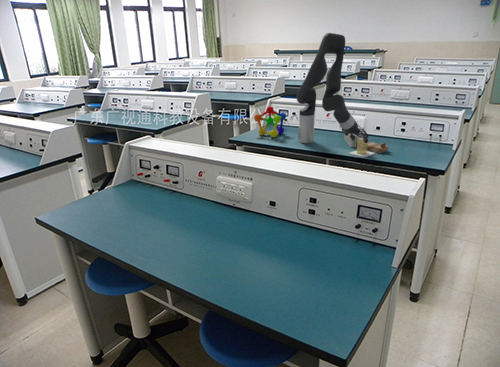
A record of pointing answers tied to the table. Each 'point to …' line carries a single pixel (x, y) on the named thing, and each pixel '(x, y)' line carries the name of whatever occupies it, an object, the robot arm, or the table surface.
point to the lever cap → (361, 146)
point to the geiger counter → (350, 141)
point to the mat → (362, 154)
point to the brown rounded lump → (377, 147)
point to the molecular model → (271, 122)
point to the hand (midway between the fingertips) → (360, 140)
